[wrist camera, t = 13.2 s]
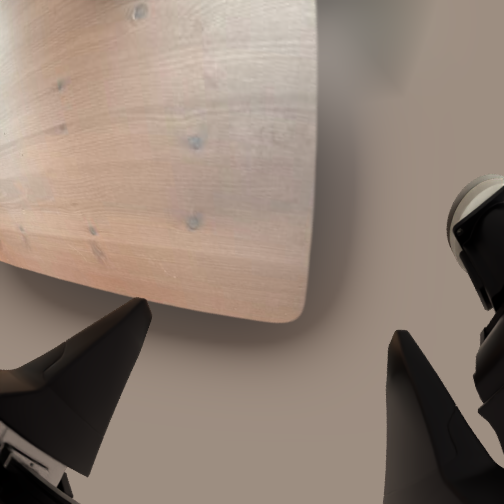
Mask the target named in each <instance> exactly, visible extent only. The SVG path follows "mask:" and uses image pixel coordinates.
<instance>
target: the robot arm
mask: <svg viewBox="0 0 504 504" xmlns="http://www.w3.org/2000/svg"><path fill="white" fill-rule="evenodd" d="M459 229H461V231H460V232H457V231H458V230H459ZM452 232H453V234H454V236H455V238H456V239H457V241H458V243H459V245H460V247H461V248H462V251H461V252H460V254H459V257H460V259H461V261H462V263H463V265H464V267H465V268H466V270H467V272H468V274H469V276H470V278H471V281H472V283H473V285H474V287H475V289H476V291H477V293H478V295H479V297H480V300H481V302H482V304H483V306H484V308H485V310H488V311H489V310H490V309H492V308H493V309H494V311H495V315H494V317H493V318H492V320H491V321H490V323H489V324H488V326H487V327H485V328H484V329H483V331H482V332H481V334H480V348H479V350H478V353H477V356H476V372H475V373H474V375H473V379H474V383H475V387H476V390H477V392H478V394H479V397H480V399H481V400H482V402H483V403H484V404H483V405H482V406H481V407H480V408H479V409H478V413H479V414H480V415H481V416H482V417H483V418H484V419H486V420H487V421H488V422H489V423H490V425H491V426H492V428H493V429H494V430H495V432H496V434H497V436H498V439H499V441H500V444H501V447H502V450H503V453H504V186H502V187H501V188H500V189H499V190H498V191H497V192H495V193H494V194H493V195H492V196H491V197H489V198H488V199H487V200H486V201H484V202H483V203H482V204H481V205H480V206H478V207H477V208H476V209H475V210H473V211H472V212H471V213H469V214H468V215H467V216H466V217H464V218H463V219H462V220H460V221H459V222H458V223H456V224H455V225H454V226H453V229H452ZM151 319H152V313H151V310H150V308H149V305H148V303H147V300H146V299H144V298H139V297H136V298H134V299H132V300H130V301H129V302H127V303H126V304H124V305H122V306H121V307H119V308H117V309H116V310H114V311H113V312H111V313H109V314H108V315H106V316H105V317H103V318H101V319H100V320H98V321H97V322H95V323H94V324H92V325H90V326H89V327H87V328H85V329H84V330H82V331H81V332H79V333H78V334H76V335H74V336H73V337H71V338H70V339H68V340H67V341H66V342H63V343H62V344H60V345H59V346H57V347H55V348H54V349H52V350H51V351H49V352H47V353H46V354H44V355H42V356H40V357H38V358H36V359H34V360H33V361H31V362H29V363H27V364H25V365H23V366H21V367H19V368H17V369H13V370H0V504H79V503H78V502H76V501H75V500H73V499H72V498H73V494H72V491H71V487H70V484H69V481H68V478H67V474H66V473H65V470H66V468H67V467H69V468H71V469H73V470H75V471H77V472H78V473H80V474H82V475H84V476H86V477H88V476H89V474H90V472H91V469H92V466H93V464H94V461H95V458H96V455H97V453H98V450H99V448H100V445H101V443H102V440H103V436H104V435H105V432H106V430H107V427H108V425H109V422H110V420H111V418H112V415H113V413H114V410H115V408H116V406H117V403H118V401H119V399H120V396H121V394H122V392H123V389H124V387H125V384H126V382H127V380H128V378H129V376H130V373H131V371H132V369H133V367H134V365H135V362H136V360H137V358H138V356H139V353H140V351H141V348H142V345H143V342H144V339H145V337H146V334H147V331H148V328H149V325H150V322H151ZM386 407H387V450H386V474H385V489H384V499H383V504H504V468H502V467H501V466H499V465H498V464H497V463H495V461H494V460H493V459H492V458H491V457H490V455H489V454H488V452H487V451H486V449H485V448H484V446H483V445H482V444H481V442H480V441H479V439H478V438H477V437H476V435H475V434H474V432H473V431H472V429H471V428H470V426H469V425H468V423H467V422H466V420H465V419H464V417H463V415H462V414H461V412H460V410H459V409H458V407H457V406H456V404H455V402H454V400H453V399H452V397H451V396H450V394H449V392H448V391H447V389H446V388H445V386H444V384H443V383H442V381H441V380H440V378H439V376H438V375H437V373H436V372H435V371H434V369H433V367H432V366H431V364H430V363H429V361H428V360H427V358H426V357H425V355H424V354H423V352H422V351H421V349H420V348H419V346H418V345H417V343H416V342H415V341H414V339H413V338H412V336H411V335H410V333H409V332H408V331H407V330H396V331H395V333H394V335H393V337H392V340H391V342H390V344H389V348H388V364H387V382H386Z"/></svg>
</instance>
